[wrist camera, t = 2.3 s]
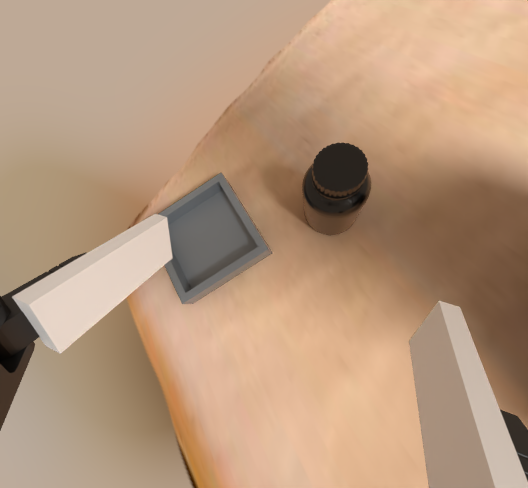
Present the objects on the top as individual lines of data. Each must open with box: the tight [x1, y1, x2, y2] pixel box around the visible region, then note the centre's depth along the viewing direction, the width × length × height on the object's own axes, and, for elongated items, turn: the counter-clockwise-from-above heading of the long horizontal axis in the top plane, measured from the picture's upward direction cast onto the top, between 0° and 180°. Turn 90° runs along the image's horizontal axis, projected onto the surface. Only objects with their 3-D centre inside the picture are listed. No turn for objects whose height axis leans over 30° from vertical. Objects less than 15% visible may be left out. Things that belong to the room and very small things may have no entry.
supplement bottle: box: [302, 143, 371, 235], centre depth 27 cm, size 7×7×12 cm
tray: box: [158, 173, 272, 304], centre depth 34 cm, size 13×13×3 cm
